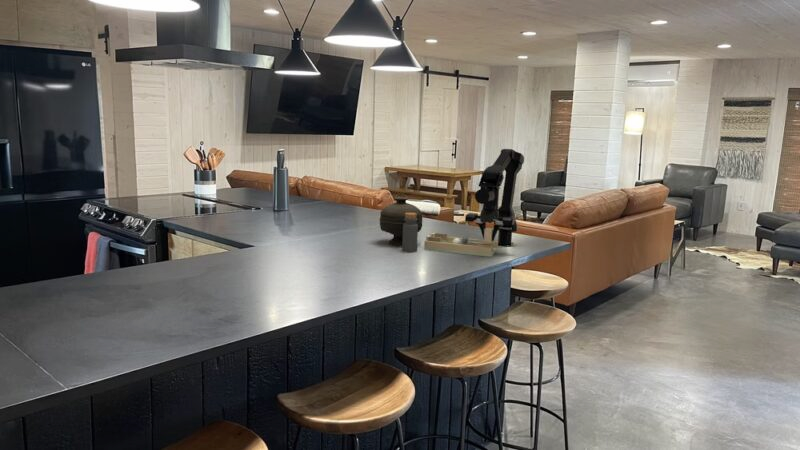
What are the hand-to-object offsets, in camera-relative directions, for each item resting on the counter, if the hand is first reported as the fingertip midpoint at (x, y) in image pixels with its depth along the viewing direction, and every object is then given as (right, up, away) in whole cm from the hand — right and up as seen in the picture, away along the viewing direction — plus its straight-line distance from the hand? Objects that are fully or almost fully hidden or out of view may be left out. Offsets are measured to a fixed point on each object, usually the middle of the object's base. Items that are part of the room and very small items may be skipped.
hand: (488, 240), depth 231 cm
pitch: (-10, -4, +4) cm, 12 cm away
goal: (-20, -2, +8) cm, 22 cm away
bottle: (-31, -4, -1) cm, 32 cm away
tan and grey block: (-4, -3, +2) cm, 6 cm away
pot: (-35, -2, +12) cm, 37 cm away
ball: (-12, -1, +5) cm, 13 cm away
